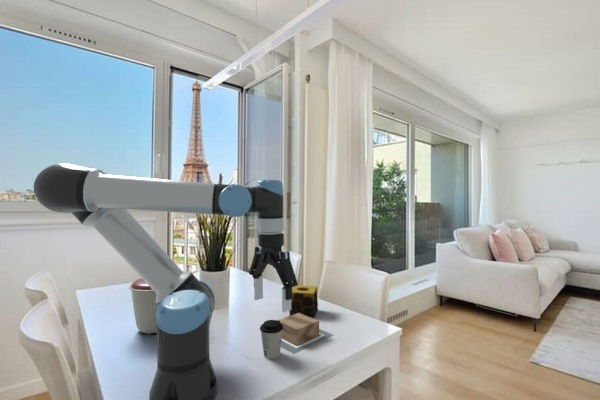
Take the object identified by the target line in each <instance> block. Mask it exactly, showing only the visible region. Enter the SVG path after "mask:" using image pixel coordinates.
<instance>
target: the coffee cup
mask: <svg viewBox="0 0 600 400" xmlns="http://www.w3.org/2000/svg"><path fill="white" fill-rule="evenodd" d="M278 320H279V319H268V320H265V321H264V322H263V323H262V324H261V325H260V327H259V331H260V337H261V343H262V351H263V357H264V358H265V359H267V360H274V359H277V358H279V357H280V355H281V348H282V347H281V339H282V330H283V325H282V324H281V323H280V321H278Z"/></svg>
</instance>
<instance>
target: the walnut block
mask: <svg viewBox="0 0 600 400" xmlns="http://www.w3.org/2000/svg"><path fill="white" fill-rule="evenodd" d="M277 320H278V321H280V323H281V324H282V325H283V330H282V338H283V339H285V340H287V341H289V342H291V343H293V344H295V345H296V346H297V345H300V344H302V343H304V342H306V341H309V340H311V339H313V338H315V337H318V336H319V329H320V321H319V320H318V319H315V318H312V317H308V316H306V315H303V314H301V313H297V314H294V315H291V316H290V315H288V316H285V317H282V318H280V319H277Z"/></svg>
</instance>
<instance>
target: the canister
mask: <svg viewBox="0 0 600 400" xmlns="http://www.w3.org/2000/svg"><path fill="white" fill-rule="evenodd" d="M128 288H129V290H130V291H131V298H132V306H133V314H134V319H135V325H136V328H137V330H138V331H139V332H140V331H141V332H140V333H142V332H143V333H142V334H145V333H157V323H156V313H157V307H158V304H157V303H156V296H157V295H156V293H155V292H154V291H153V289H152V288H151V287H150V286H149V285H148V284H147V283H146V282H145V281H144V280H143V279H142V278H141V277H140V278H138V279H136V280H135V281H133V282H132V283H130V284H129V286H128Z"/></svg>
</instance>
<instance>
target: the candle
mask: <svg viewBox="0 0 600 400" xmlns="http://www.w3.org/2000/svg"><path fill="white" fill-rule="evenodd" d="M318 301H319V300H318V285H317V286H316V285H297V286H295V287H293V288H292V299H291V310H289V311H288V312H289V316H291V315H294V314H297V313H301V314H303V315H306V316H308V317H311V318H313V319H315V317H316V315H317V313H318V311H319V309H318V308H319V307H318V306H319V302H318Z"/></svg>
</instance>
